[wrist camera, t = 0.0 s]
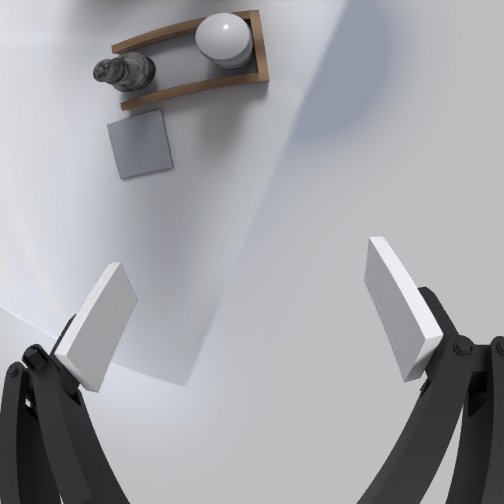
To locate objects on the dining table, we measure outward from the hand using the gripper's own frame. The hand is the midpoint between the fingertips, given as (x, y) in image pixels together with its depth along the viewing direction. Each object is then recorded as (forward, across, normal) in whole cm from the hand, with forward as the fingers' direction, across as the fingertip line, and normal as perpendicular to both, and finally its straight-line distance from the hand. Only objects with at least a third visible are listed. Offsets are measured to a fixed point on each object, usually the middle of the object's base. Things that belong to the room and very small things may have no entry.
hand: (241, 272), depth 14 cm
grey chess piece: (+28, -14, +15) cm, 35 cm away
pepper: (+28, -1, +15) cm, 32 cm away
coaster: (+28, -16, +4) cm, 33 cm away
